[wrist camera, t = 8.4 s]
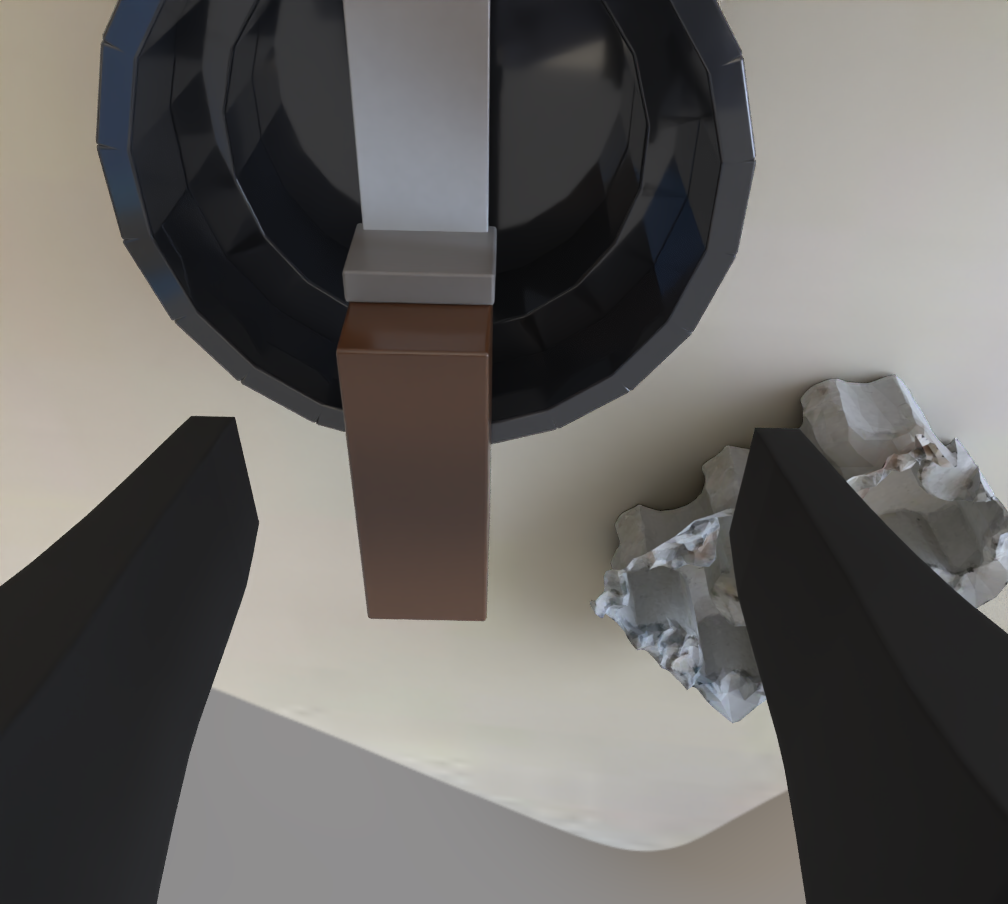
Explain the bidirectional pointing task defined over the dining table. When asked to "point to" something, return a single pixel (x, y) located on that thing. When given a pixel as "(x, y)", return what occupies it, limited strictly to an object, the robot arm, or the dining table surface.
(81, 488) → the dining table surface
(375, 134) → the knife
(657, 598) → the egg carton
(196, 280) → the bowl
